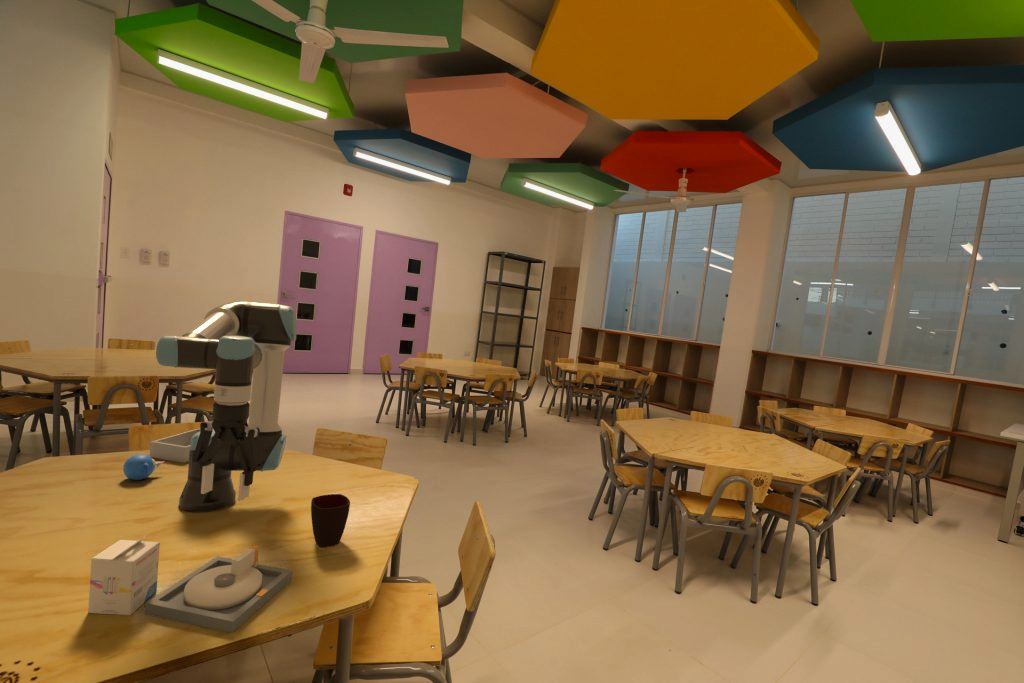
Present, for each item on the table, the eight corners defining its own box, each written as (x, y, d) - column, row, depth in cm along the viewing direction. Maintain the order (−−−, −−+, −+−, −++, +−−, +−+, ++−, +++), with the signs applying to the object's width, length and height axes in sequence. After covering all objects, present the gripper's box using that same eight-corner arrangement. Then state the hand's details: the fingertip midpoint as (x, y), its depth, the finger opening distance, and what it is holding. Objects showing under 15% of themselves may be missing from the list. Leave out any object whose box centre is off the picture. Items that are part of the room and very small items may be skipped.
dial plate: (144, 614, 99) (145, 602, 99) (216, 565, 119) (217, 555, 119) (232, 633, 97) (233, 620, 97) (291, 580, 117) (292, 569, 116)
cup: (313, 554, 129) (317, 510, 129) (300, 532, 140) (304, 492, 140) (350, 546, 135) (354, 505, 135) (335, 526, 146) (338, 487, 146)
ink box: (117, 589, 106) (121, 530, 106) (157, 591, 107) (161, 533, 106) (86, 614, 98) (90, 550, 97) (130, 616, 98) (134, 552, 98)
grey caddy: (149, 457, 185) (150, 441, 185) (196, 442, 208) (197, 428, 208) (184, 462, 183) (185, 447, 183) (228, 447, 206) (229, 433, 206)
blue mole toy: (172, 478, 168) (173, 454, 167) (130, 486, 158) (132, 461, 157) (156, 469, 174) (158, 446, 174) (116, 477, 164) (117, 452, 164)
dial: (230, 615, 99) (232, 591, 99) (165, 602, 102) (167, 578, 101) (282, 572, 117) (284, 551, 116) (226, 561, 119) (227, 540, 119)
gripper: (177, 398, 111) (171, 493, 113) (263, 411, 108) (256, 508, 110) (202, 393, 119) (196, 482, 120) (284, 405, 116) (276, 496, 117)
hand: (224, 494), depth 115 cm, fingers open, 9 cm apart
